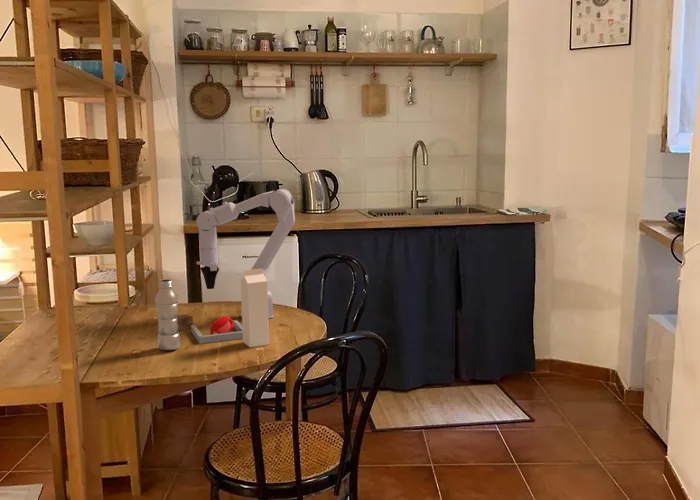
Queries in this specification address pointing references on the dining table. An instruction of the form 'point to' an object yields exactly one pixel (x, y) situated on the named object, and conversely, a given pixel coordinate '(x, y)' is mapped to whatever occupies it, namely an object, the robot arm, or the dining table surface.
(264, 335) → the milk
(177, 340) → the plastic bottle
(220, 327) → the cap
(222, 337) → the tray frame
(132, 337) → the dining table surface
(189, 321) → the walnut block
